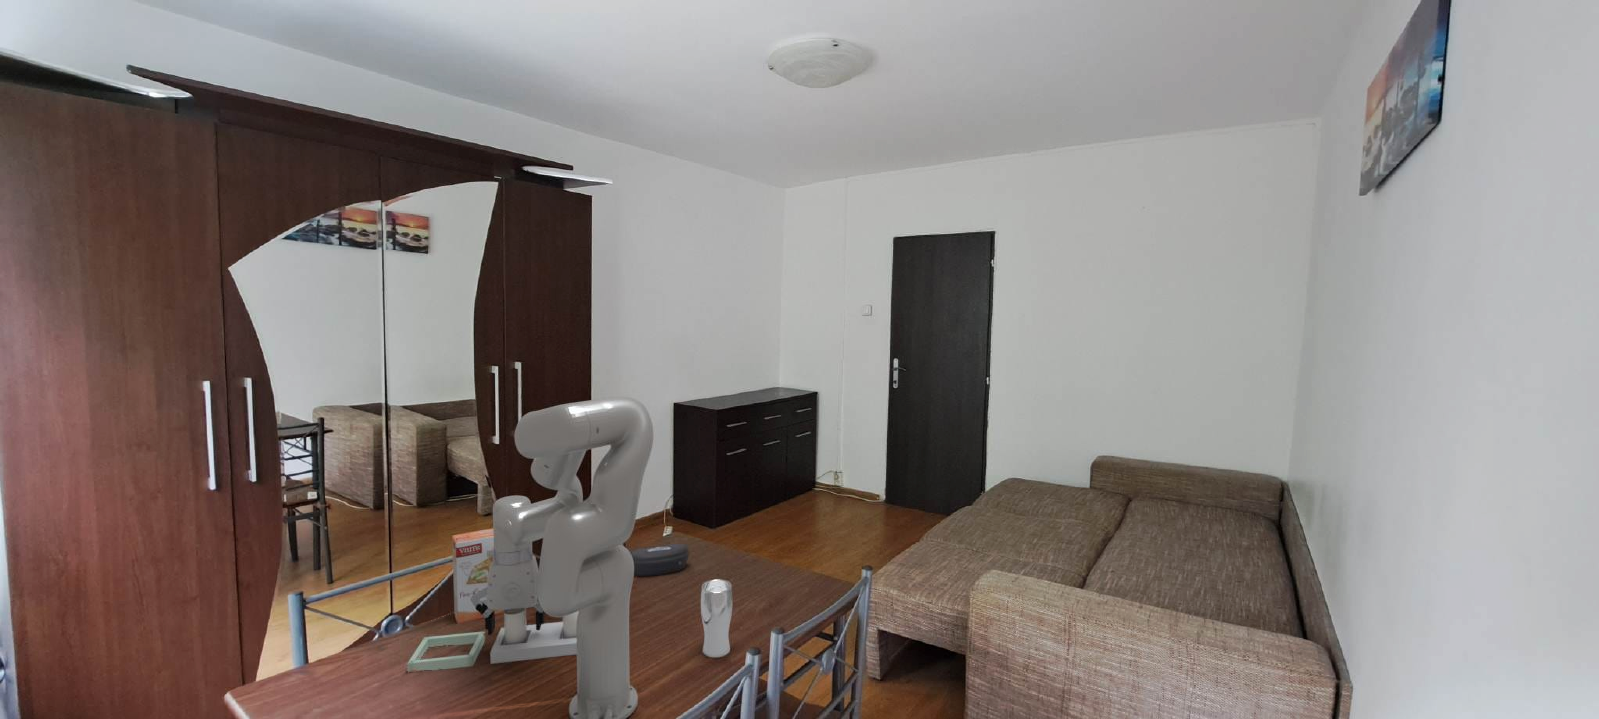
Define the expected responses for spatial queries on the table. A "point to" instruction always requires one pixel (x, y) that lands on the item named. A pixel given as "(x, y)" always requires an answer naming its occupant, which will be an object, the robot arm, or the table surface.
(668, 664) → the table surface
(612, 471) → the robot arm
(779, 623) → the table surface
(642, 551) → the glasses case
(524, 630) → the cylinder
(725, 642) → the beer glass
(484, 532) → the cracker box
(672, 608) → the table surface
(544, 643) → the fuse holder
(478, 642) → the green square frame
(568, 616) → the fuse
